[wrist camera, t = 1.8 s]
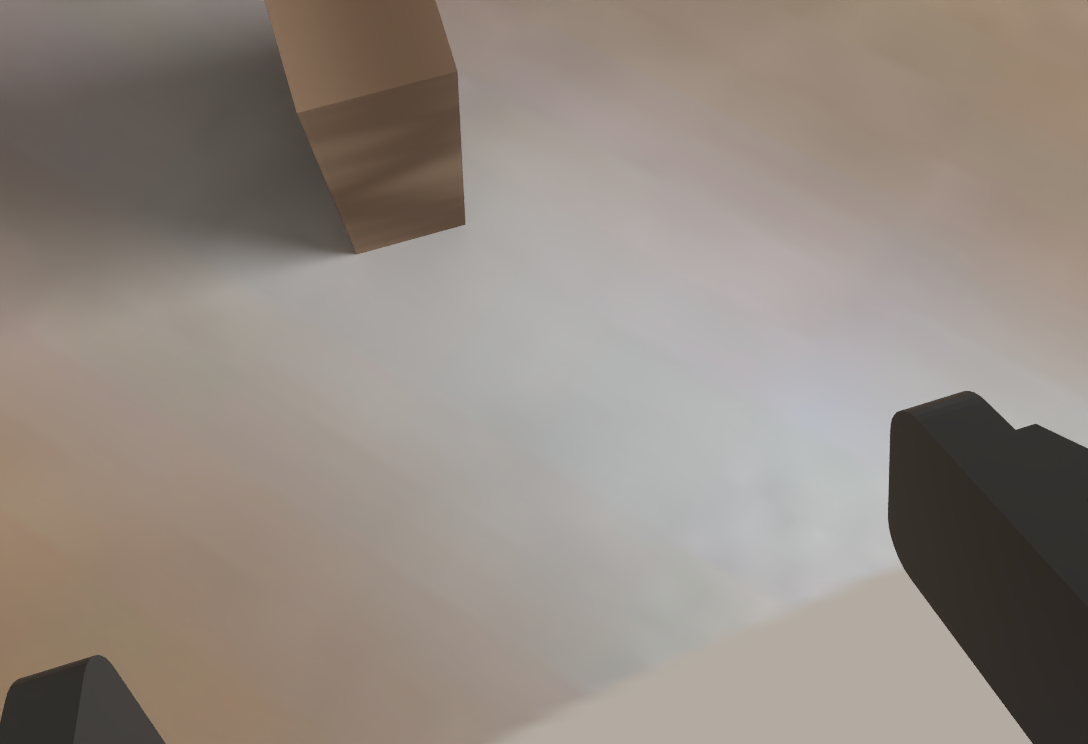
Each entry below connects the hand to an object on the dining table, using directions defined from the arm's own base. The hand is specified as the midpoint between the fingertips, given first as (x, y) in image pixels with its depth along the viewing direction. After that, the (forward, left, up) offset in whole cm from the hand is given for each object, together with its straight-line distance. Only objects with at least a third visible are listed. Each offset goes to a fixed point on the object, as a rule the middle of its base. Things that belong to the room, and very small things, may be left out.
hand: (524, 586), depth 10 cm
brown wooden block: (0, +12, -16) cm, 20 cm away
